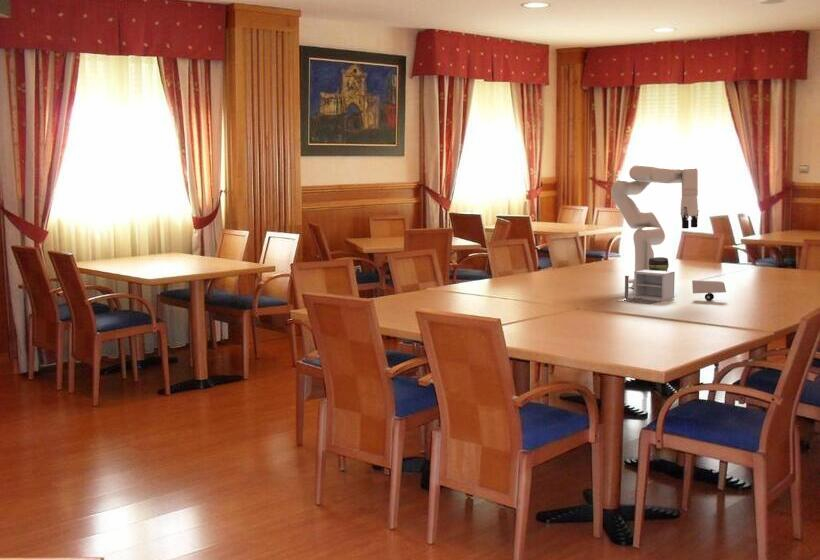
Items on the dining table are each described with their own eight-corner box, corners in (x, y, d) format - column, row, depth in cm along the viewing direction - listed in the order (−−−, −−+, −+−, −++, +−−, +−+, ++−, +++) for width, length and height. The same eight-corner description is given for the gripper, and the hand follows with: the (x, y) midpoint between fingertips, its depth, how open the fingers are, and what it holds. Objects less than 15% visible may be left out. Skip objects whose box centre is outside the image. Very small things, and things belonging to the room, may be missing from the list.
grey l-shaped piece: (615, 300, 471) (615, 277, 470) (627, 298, 479) (627, 275, 478) (649, 304, 459) (649, 280, 457) (661, 301, 467) (661, 278, 465)
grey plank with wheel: (693, 301, 470) (725, 300, 462) (691, 280, 469) (723, 279, 462) (695, 300, 473) (727, 299, 465) (694, 280, 473) (725, 278, 465)
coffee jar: (663, 293, 495) (664, 256, 493) (670, 295, 487) (671, 257, 485) (645, 293, 494) (646, 256, 491) (652, 295, 486) (652, 258, 484)
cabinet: (634, 297, 479) (634, 271, 478) (644, 295, 487) (644, 269, 485) (663, 300, 469) (664, 273, 467) (674, 298, 476) (674, 271, 474)
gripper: (690, 192, 493) (690, 226, 495) (674, 193, 480) (674, 228, 482) (704, 192, 488) (704, 226, 490) (689, 193, 475) (689, 228, 477)
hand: (689, 227), depth 486 cm, fingers open, 9 cm apart
